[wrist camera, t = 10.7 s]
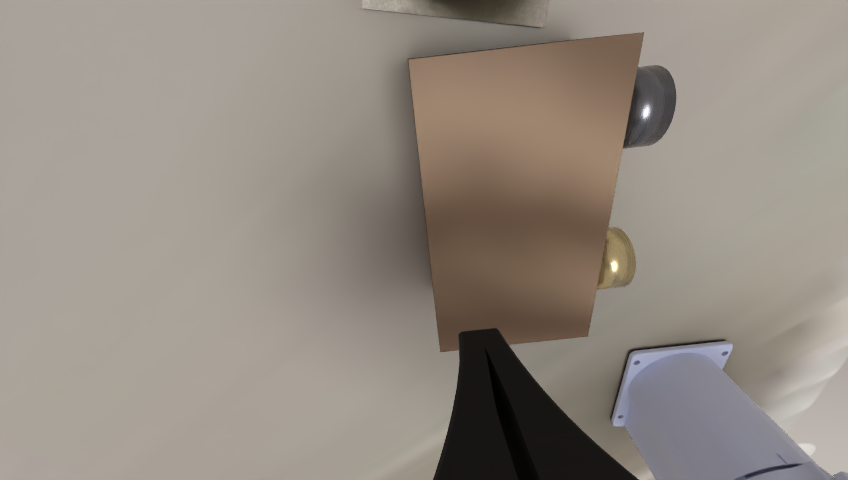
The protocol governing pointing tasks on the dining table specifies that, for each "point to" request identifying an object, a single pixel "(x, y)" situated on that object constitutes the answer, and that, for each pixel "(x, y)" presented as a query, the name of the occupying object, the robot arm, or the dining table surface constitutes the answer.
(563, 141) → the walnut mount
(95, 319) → the dining table surface
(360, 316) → the dining table surface
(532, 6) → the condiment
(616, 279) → the brass knob
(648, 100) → the black knob
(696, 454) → the robot arm
